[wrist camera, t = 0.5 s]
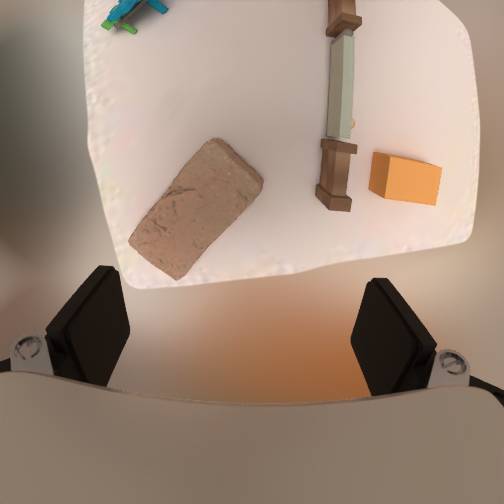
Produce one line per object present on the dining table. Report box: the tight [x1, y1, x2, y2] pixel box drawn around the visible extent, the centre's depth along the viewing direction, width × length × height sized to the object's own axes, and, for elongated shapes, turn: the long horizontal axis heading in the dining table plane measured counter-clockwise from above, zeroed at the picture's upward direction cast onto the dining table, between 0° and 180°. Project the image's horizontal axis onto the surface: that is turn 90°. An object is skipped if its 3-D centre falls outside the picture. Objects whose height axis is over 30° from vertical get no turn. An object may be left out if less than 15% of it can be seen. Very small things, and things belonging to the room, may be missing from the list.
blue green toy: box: [101, 0, 168, 34], centre depth 22 cm, size 11×6×10 cm
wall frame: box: [315, 0, 362, 212], centre depth 26 cm, size 30×2×6 cm, turn 177°
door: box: [326, 29, 355, 139], centre depth 26 cm, size 13×2×5 cm, turn 177°
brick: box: [128, 138, 263, 281], centre depth 33 cm, size 17×8×5 cm, turn 137°
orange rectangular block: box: [369, 152, 442, 206], centre depth 32 cm, size 5×8×5 cm, turn 87°
